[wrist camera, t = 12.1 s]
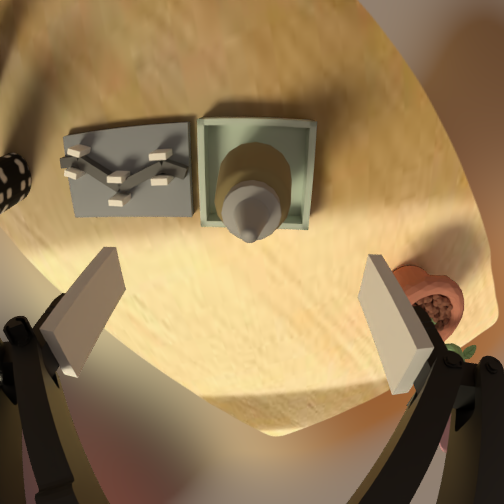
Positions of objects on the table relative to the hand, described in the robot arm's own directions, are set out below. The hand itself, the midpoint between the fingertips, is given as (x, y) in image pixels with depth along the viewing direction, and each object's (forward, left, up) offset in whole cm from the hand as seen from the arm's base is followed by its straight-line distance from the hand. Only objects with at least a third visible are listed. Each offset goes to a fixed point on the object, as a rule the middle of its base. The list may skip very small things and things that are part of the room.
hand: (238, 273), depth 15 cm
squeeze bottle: (0, 0, -24) cm, 24 cm away
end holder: (0, 0, -24) cm, 24 cm away
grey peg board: (0, -17, -24) cm, 29 cm away
